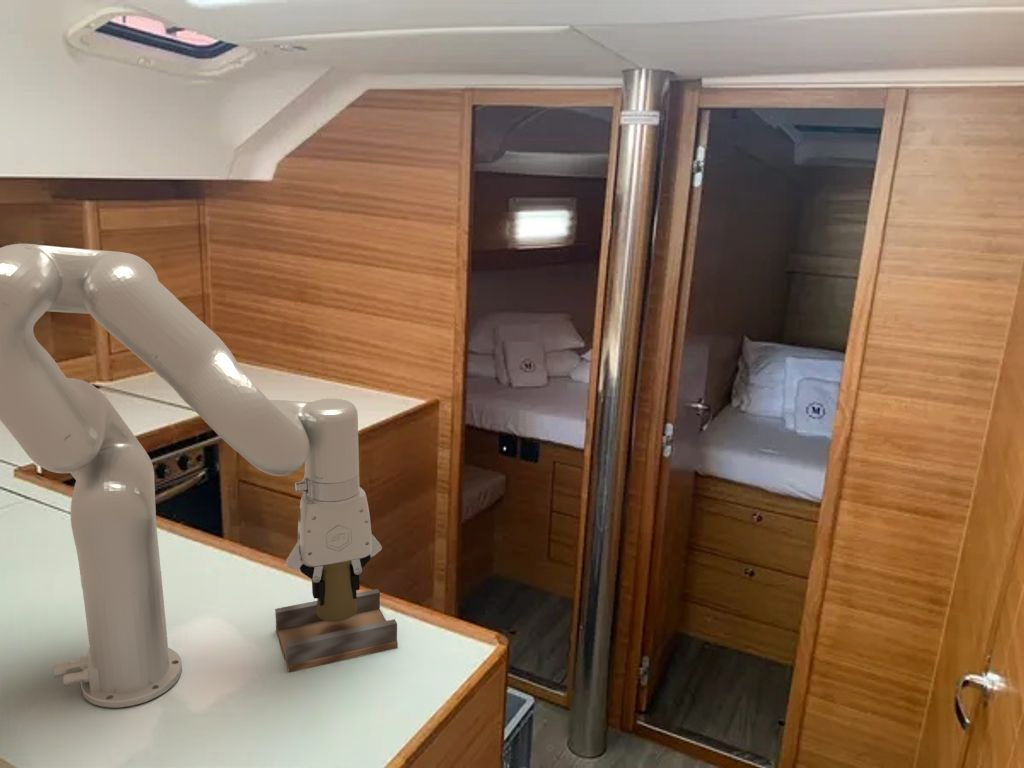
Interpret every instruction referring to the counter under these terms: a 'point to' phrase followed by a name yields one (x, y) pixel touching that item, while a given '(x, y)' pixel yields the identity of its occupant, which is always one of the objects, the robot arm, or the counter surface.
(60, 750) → the counter surface
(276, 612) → the track
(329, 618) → the olive brown pawn
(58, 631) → the counter surface
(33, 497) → the counter surface
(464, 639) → the counter surface
